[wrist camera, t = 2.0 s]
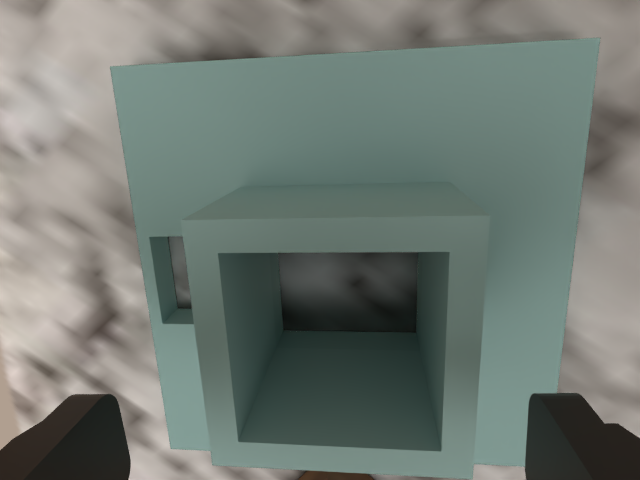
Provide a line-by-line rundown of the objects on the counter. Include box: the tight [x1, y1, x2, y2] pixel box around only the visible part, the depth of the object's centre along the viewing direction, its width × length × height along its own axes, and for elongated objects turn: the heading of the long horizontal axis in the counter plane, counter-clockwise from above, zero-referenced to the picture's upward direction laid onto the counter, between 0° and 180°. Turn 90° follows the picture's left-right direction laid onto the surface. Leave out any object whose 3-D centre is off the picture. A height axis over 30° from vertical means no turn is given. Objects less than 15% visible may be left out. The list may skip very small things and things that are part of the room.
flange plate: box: [110, 38, 600, 479], centre depth 12 cm, size 13×13×6 cm
